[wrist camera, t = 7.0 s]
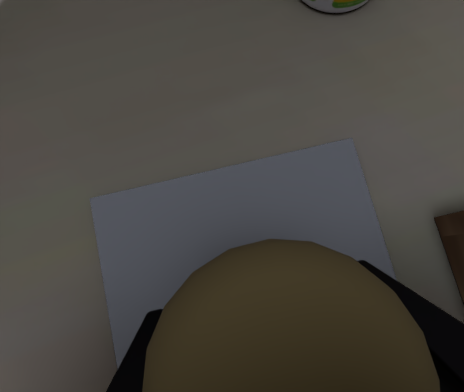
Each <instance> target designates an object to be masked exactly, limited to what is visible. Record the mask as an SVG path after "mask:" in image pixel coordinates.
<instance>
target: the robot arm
mask: <svg viewBox="0 0 464 392" xmlns="http://www.w3.org/2000/svg"><path fill="white" fill-rule="evenodd" d="M357 262H359V263H360V264H361V265H362V266H364V267H365V268H366V269H367V270H369V271H370V272H371V273H372V274H374V275H375V276H376V277H378V278H379V279H380V280H381V281H383V282H384V283H385V284H386V285H388V286H389V287H390V288H391V289H392V290H393V291H394V292H395V293H396V294H397V296H398V297H399V299H400V300H401V301H402V303H403V304H404V306H405V307H406V309H407V310H408V311H409V313H410V314H411V316H412V317H413V319H414V320H415V321H416V323H417V324H418V326H419V327H420V329H421V330H422V331H423V333H424V336H425V339H426V342H427V345H428V348H429V351H430V354H431V357H432V360H433V363H434V366H435V369H436V371H437V374H438V377H439V380H440V392H464V324H463V323H462V322H460V321H459V320H457V319H455V318H454V317H452V316H451V315H449V314H448V313H446V312H445V311H443V310H441V309H440V308H438V307H437V306H435V305H434V304H432V303H431V302H429V301H428V300H426V299H424V298H423V297H421V296H420V295H418V294H417V293H415V292H414V291H412V290H410V289H409V288H407V287H406V286H404V285H403V284H401V283H400V282H398V281H396V280H395V279H393V278H392V277H390V276H389V275H387V274H386V273H384V272H383V271H381V270H379V269H378V268H376V267H375V266H373V265H372V264H370V263H369V262H367V261H365V260H358V261H357ZM162 311H163V309H161V308H160V309H156V310H152V311H149V312H148V313H147V314H146V316H145V318H144V320H143V322H142V324H141V326H140V327H139V329H138V331H137V333H136V335H135V337H134V339H133V341H132V343H131V345H130V347H129V349H128V351H127V352H126V354H125V356H124V358H123V360H122V362H121V364H120V366H119V368H118V370H117V372H116V374H115V376H114V377H113V379H112V381H111V383H110V385H109V387H108V389H107V391H106V392H142V389H143V379H144V370H145V360H146V350H147V347H148V344H149V342H150V340H151V337H152V335H153V332H154V330H155V328H156V325H157V323H158V320H159V318H160V316H161V313H162Z"/></svg>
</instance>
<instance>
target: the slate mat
mask: <svg viewBox="0 0 464 392" xmlns="http://www.w3.org/2000/svg"><path fill="white" fill-rule="evenodd" d="M90 202H91V209H92V215H93V221H94V227H95V233H96V239H97V246H98V252H99V258H100V264H101V270H102V276H103V283H104V289H105V295H106V301H107V307H108V313H109V320H110V326H111V332H112V338H113V344H114V351H115V357H116V363H117V369H118V368H119V366H120V364H121V362H122V360H123V358H124V356H125V354H126V352H127V351H128V349H129V347H130V345H131V343H132V341H133V339H134V337H135V335H136V333H137V331H138V329H139V327H140V326H141V324H142V322H143V320H144V318H145V316H146V314H147V313H148V312H149V311H152V310H156V309H160V308H161V309H163V308H164V306H165V305H166V304H167V302H168V301H169V300H170V299H171V298H172V296H173V295H174V294H175V293H176V292H177V290H178V289H179V288H180V287H181V286H182V284H183V283H184V282H185V281H186V280H187V278H188V277H189V276H190V275H191V274H192V272H194V271H195V270H197V269H198V268H200V267H202V266H203V265H205V264H206V263H208V262H209V261H211V260H212V259H214V258H216V257H217V256H219V255H220V254H222V253H223V252H225V251H227V250H228V249H231V248H235V247H239V246H243V245H247V244H251V243H254V242H258V241H262V240H266V239H283V240H299V241H312V242H315V243H317V244H320V245H322V246H325V247H327V248H330V249H332V250H335V251H338V252H340V253H343V254H345V255H348V256H350V257H352V258H354V259H355V260H356V261H358V260H365V261H367V262H369V263H370V264H372V265H373V266H375V267H376V268H378V269H379V270H381V271H383V272H384V273H386V274H387V275H389V276H390V277H392V278H393V279H395V280H396V281H397V279H396V276H395V273H394V270H393V267H392V263H391V260H390V257H389V254H388V251H387V247H386V244H385V241H384V238H383V235H382V232H381V228H380V225H379V222H378V219H377V216H376V212H375V209H374V206H373V203H372V200H371V197H370V193H369V190H368V187H367V184H366V181H365V177H364V174H363V171H362V168H361V165H360V162H359V158H358V155H357V152H356V149H355V146H354V142H353V139H352V138H349V139H345V140H340V141H336V142H332V143H327V144H323V145H319V146H314V147H310V148H306V149H302V150H297V151H293V152H289V153H284V154H280V155H276V156H271V157H267V158H263V159H258V160H254V161H250V162H245V163H241V164H237V165H232V166H228V167H224V168H219V169H215V170H211V171H206V172H202V173H198V174H194V175H189V176H185V177H181V178H176V179H172V180H168V181H163V182H159V183H155V184H150V185H146V186H142V187H137V188H133V189H129V190H124V191H120V192H116V193H111V194H107V195H103V196H98V197H94V198H90Z"/></svg>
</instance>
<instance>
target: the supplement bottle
mask: <svg viewBox="0 0 464 392" xmlns="http://www.w3.org/2000/svg"><path fill="white" fill-rule="evenodd" d="M302 1H303V2H304V3H306V4H307V5H309V6H310V7H312V8H314V9H317V10H319V11H323V12H329V13H342V12H348V11H351V10H354V9H357V8H359V7H361V6H362V5H364V4H365V3H366V2H368V1H369V0H302Z"/></svg>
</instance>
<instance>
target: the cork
mask: <svg viewBox="0 0 464 392" xmlns="http://www.w3.org/2000/svg"><path fill="white" fill-rule="evenodd" d="M142 392H440V380H439V377H438V374H437V371H436V369H435V366H434V363H433V360H432V357H431V354H430V351H429V348H428V345H427V342H426V339H425V336H424V333H423V331H422V330H421V329H420V327H419V326H418V324H417V323H416V321H415V320H414V319H413V317H412V316H411V314H410V313H409V311H408V310H407V309H406V307H405V306H404V304H403V303H402V301H401V300H400V299H399V297H398V296H397V294H396V293H395V292H394V291H393V290H392V289H391V288H390V287H389V286H388V285H386V284H385V283H384V282H383V281H381V280H380V279H379V278H378V277H376V276H375V275H374V274H372V273H371V272H370V271H369V270H367V269H366V268H365V267H364V266H362V265H361V264H360V263H359V262H357V261H356V260H355V259H354V258H352V257H350V256H348V255H345V254H343V253H340V252H338V251H335V250H332V249H330V248H327V247H325V246H322V245H320V244H317V243H315V242H312V241H299V240H283V239H266V240H262V241H258V242H254V243H251V244H247V245H243V246H239V247H235V248H231V249H228V250H227V251H225V252H223V253H222V254H220V255H219V256H217V257H216V258H214V259H212V260H211V261H209V262H208V263H206V264H205V265H203V266H202V267H200V268H198V269H197V270H195V271H194V272H192V274H191V275H190V276H189V277H188V278H187V280H186V281H185V282H184V283H183V284H182V286H181V287H180V288H179V289H178V290H177V292H176V293H175V294H174V295H173V296H172V298H171V299H170V300H169V301H168V302H167V304H166V305H165V306H164V308H163V311H162V313H161V316H160V318H159V320H158V323H157V325H156V328H155V330H154V332H153V335H152V337H151V340H150V342H149V344H148V347H147V350H146V360H145V370H144V379H143V389H142Z"/></svg>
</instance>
